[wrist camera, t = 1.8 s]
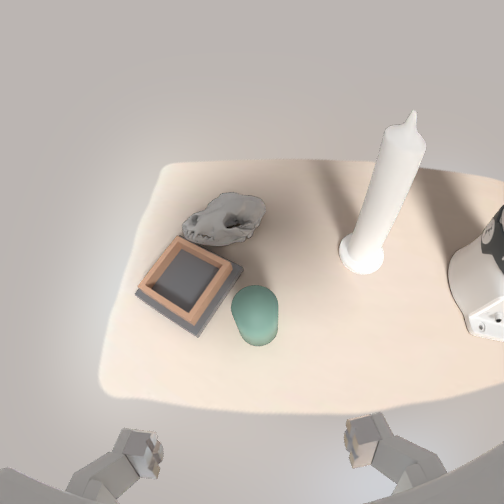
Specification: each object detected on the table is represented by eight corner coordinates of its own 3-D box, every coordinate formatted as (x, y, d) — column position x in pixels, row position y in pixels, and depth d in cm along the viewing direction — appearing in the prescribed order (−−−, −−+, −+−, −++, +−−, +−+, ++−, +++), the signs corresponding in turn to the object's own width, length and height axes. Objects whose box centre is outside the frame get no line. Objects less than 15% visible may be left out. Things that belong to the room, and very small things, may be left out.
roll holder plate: (243, 270, 42) (241, 260, 40) (198, 337, 38) (192, 331, 35) (181, 239, 46) (176, 228, 43) (137, 297, 41) (128, 288, 39)
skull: (281, 218, 43) (220, 211, 35) (247, 257, 48) (187, 259, 39) (254, 184, 47) (195, 171, 38) (225, 222, 51) (167, 218, 42)
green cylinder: (284, 320, 38) (286, 297, 31) (265, 352, 36) (263, 337, 29) (252, 303, 40) (246, 277, 33) (232, 334, 38) (222, 314, 31)
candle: (329, 248, 43) (362, 98, 22) (362, 227, 45) (405, 87, 23) (359, 283, 40) (425, 142, 18) (391, 259, 41) (460, 125, 20)
